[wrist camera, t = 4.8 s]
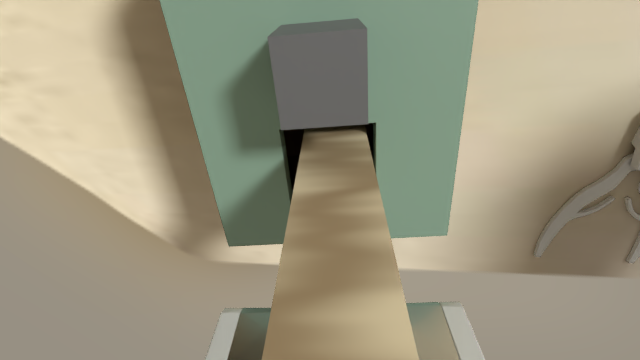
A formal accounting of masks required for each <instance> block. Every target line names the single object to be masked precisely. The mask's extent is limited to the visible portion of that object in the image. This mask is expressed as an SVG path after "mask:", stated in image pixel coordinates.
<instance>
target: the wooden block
mask: <svg viewBox="0 0 640 360" xmlns="http://www.w3.org/2000/svg"><path fill="white" fill-rule="evenodd" d="M262 360H419V357H418V353H417V349H416V344H415V340H414V336H413V331H412V327H411V323H410V319H409V314H408V310H407V306H406V301H405V297H404V293H403V288H402V284H401V280H400V276H399V271H398V267H397V263H396V258H395V254H394V250H393V245H392V241H391V237H390V233H389V228H388V224H387V220H386V215H385V211H384V207H383V202H382V198H381V194H380V189H379V185H378V181H377V177H376V172H375V168H374V164H373V159H372V155H371V151H370V146H369V142H368V138H367V134H366V129H365V125H364V124H362V125H348V126H334V127H320V128H306V129H305V130H304V135H303V141H302V146H301V152H300V157H299V162H298V168H297V173H296V178H295V184H294V189H293V194H292V200H291V205H290V211H289V216H288V221H287V227H286V232H285V237H284V243H283V248H282V254H281V259H280V264H279V270H278V275H277V281H276V286H275V291H274V297H273V302H272V307H271V313H270V318H269V323H268V329H267V334H266V339H265V345H264V350H263V356H262Z"/></svg>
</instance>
